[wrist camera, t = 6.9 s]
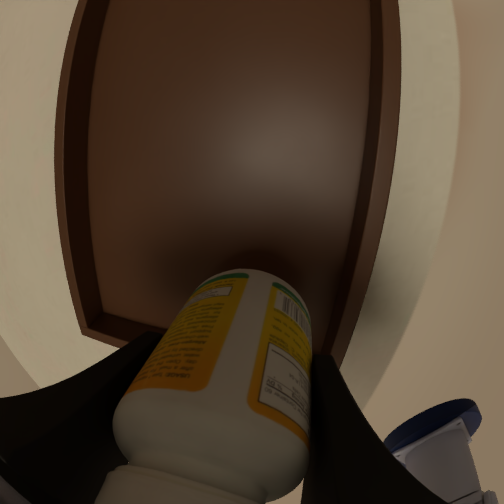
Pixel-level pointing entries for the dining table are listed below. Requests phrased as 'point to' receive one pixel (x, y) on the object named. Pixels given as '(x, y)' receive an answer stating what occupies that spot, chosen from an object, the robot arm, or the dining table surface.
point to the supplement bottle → (220, 400)
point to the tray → (224, 155)
